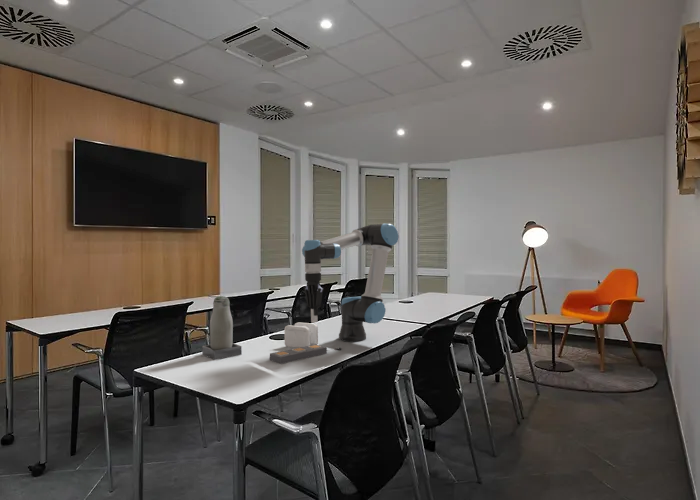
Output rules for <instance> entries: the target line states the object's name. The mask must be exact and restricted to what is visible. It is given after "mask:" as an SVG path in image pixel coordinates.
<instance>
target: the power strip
mask: <svg viewBox="0 0 700 500" xmlns="http://www.w3.org/2000/svg"><path fill="white" fill-rule="evenodd" d="M314 345H316V344H314ZM314 345H312V344H310V346H314ZM317 346H321V347H322V348H317V349H312V348H308V347H309V346H305V347H300V348H302V349H306V351H303V352H294V351H292V349H293V348H291V349H285V350H281V351H277V352H271V353H269V360H270V361H272V362H274V363H277V364H280V365H282V364H286V363H290V362H296V361H299V360H305V359H309V358H313V357H317V356H321V355H326V354H328V351H329V349H327V348H328V347H326V346H323V345H320V344H317ZM297 348H298V347H294V349H297ZM331 350H335V351H342V347H336V348H331V349H330V351H331ZM279 352H287V353H289V355H284V356H279V355H276V354H275V353H279Z"/></svg>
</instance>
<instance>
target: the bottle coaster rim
mask: <svg viewBox="0 0 700 500" xmlns="http://www.w3.org/2000/svg"><path fill="white" fill-rule="evenodd" d="M201 348H202V353H201V354H202V355H203V356H205V357H206V358H207V357H208V358H210V359H211V360H214V361H215V360H220V359H221V360H222V359H225V358H231V357H236V356H241V355H242V350H243V348H242V345H240V344H236V343H234V342H233V343H232V348H226V349H221V350H213V349H211V345H210V344H206V345H202V347H201Z"/></svg>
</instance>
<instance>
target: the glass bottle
mask: <svg viewBox="0 0 700 500" xmlns="http://www.w3.org/2000/svg"><path fill="white" fill-rule="evenodd" d="M212 304H213V307H212V313H211V316H210V320H209V333H210V334H209V337H210V341H209V343H210V344H209V345H211V349H213V350H221V349H226V348H232V343H234V342H233V338H234V337H233V334H234V333H233V331H234V329H233V328H234V322H233V317H232V312H231V307H230V304H231V303H230V299H229V298H228V297H227V296H224V295H223V296H222V295H221V296H217V297H215V298H214V299H213V303H212Z"/></svg>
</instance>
